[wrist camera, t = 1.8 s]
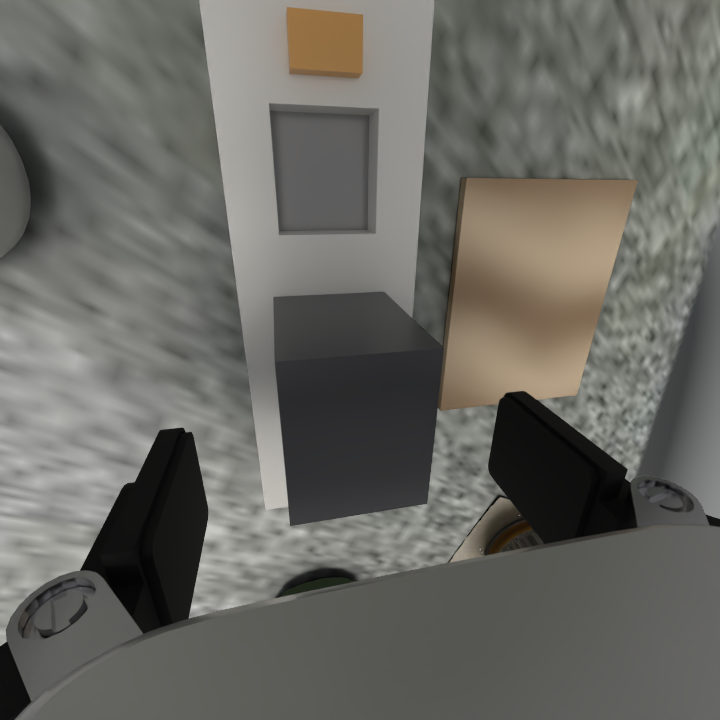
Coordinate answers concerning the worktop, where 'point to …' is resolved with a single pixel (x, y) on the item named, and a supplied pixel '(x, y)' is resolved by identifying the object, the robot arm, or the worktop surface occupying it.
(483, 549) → the condiment
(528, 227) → the cork pad
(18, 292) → the worktop surface
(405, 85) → the power strip
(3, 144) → the plastic bottle
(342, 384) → the block
